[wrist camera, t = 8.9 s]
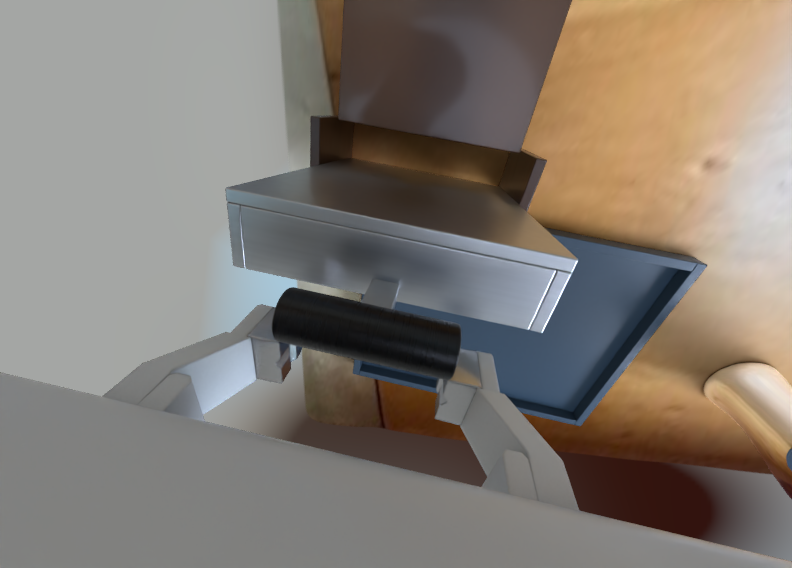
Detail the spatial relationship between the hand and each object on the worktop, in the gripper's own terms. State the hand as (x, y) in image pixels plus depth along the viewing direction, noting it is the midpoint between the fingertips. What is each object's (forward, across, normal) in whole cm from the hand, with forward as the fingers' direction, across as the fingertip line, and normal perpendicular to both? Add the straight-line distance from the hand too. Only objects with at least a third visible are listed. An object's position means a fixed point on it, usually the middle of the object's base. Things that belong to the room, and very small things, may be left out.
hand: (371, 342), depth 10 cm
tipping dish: (+7, 0, -3) cm, 8 cm away
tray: (+18, -10, +11) cm, 24 cm away
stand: (+19, 0, -8) cm, 20 cm away
